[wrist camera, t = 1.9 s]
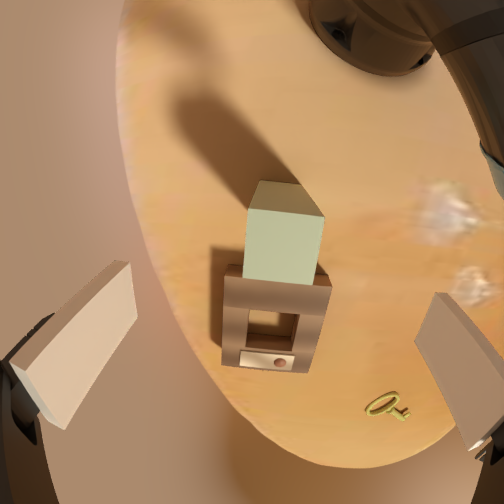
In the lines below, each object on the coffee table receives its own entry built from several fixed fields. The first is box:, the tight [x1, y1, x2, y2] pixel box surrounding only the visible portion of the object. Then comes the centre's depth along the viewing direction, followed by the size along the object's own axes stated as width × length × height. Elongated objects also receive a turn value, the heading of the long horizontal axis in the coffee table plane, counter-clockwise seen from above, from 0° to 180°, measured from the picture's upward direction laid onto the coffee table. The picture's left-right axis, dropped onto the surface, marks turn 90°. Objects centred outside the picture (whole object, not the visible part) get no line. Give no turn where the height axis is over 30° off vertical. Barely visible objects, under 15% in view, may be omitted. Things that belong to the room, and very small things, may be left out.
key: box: [366, 392, 411, 421], centre depth 41 cm, size 7×12×2 cm, turn 67°
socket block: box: [221, 264, 332, 373], centre depth 33 cm, size 14×12×3 cm
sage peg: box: [243, 180, 325, 285], centre depth 23 cm, size 4×4×14 cm
